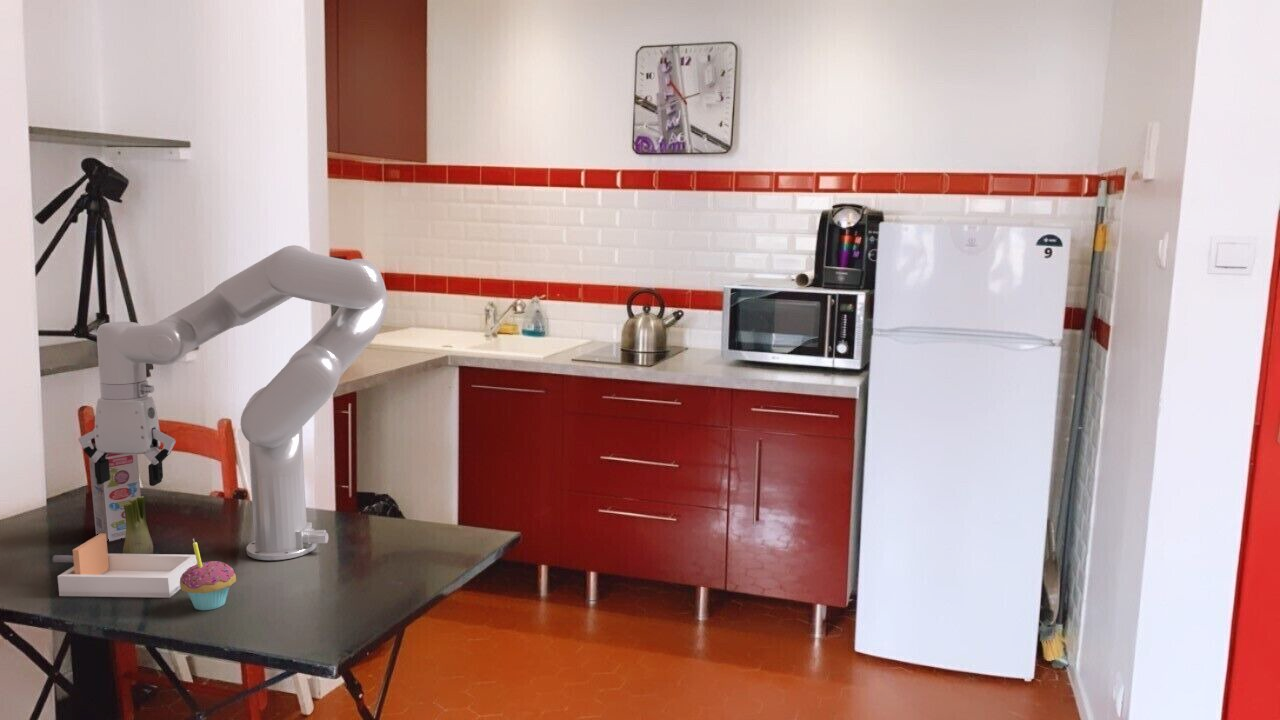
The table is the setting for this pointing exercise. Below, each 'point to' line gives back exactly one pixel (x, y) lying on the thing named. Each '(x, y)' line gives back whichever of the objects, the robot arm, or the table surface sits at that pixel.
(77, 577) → the white tray
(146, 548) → the fennel bulb
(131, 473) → the juice carton
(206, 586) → the cupcake
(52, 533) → the table surface
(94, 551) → the pusher
